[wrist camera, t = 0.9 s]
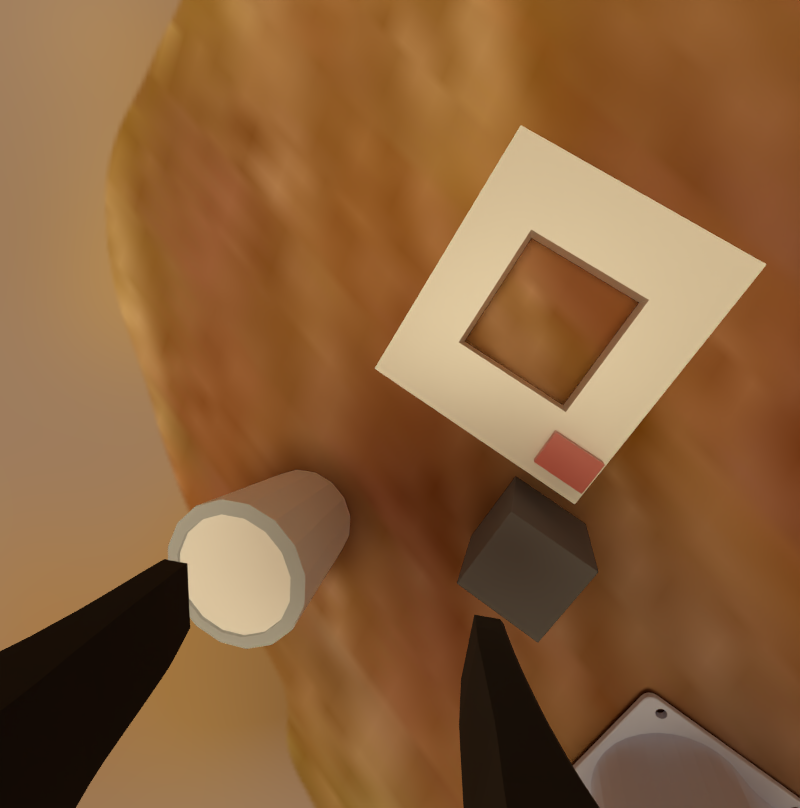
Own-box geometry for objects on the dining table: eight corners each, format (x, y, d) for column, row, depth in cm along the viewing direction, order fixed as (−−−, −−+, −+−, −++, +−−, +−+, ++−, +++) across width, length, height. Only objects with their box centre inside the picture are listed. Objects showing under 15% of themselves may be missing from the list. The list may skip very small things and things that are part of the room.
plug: (585, 523, 24) (598, 571, 19) (537, 582, 25) (538, 642, 20) (515, 476, 24) (511, 511, 20) (471, 535, 26) (456, 583, 21)
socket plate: (745, 270, 21) (773, 262, 18) (571, 490, 24) (575, 509, 21) (521, 142, 22) (520, 119, 20) (386, 365, 25) (370, 369, 23)
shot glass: (263, 442, 28) (178, 478, 21) (374, 482, 26) (321, 534, 20) (240, 549, 29) (154, 613, 23) (345, 592, 28) (286, 675, 21)
